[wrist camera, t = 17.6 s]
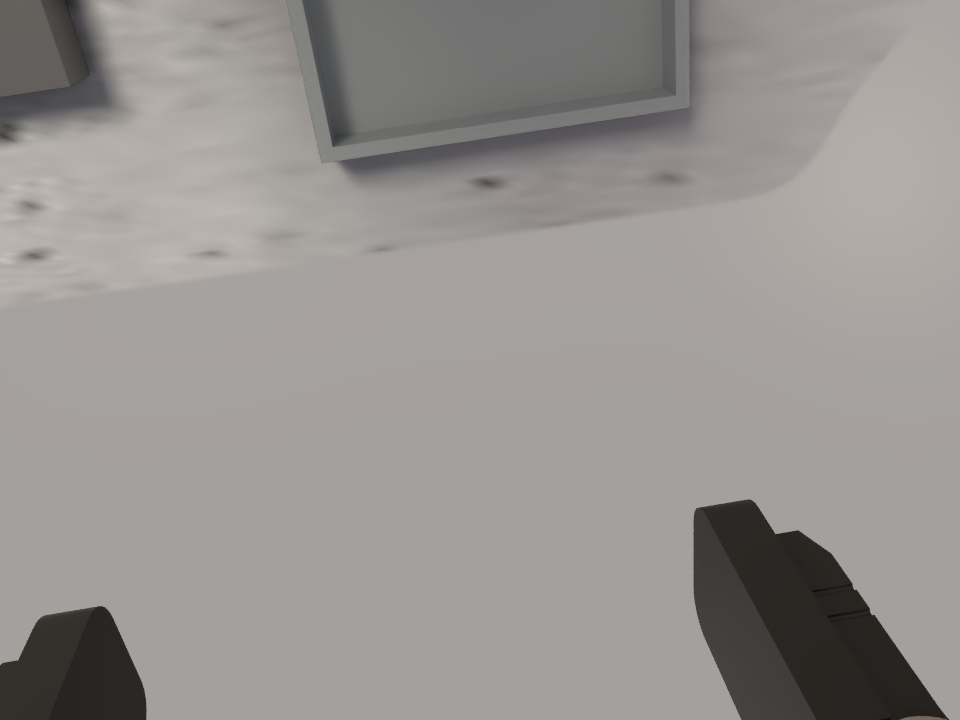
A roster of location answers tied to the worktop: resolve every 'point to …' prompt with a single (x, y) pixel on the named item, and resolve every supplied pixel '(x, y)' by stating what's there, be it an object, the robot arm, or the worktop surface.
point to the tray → (483, 67)
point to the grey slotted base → (38, 47)
